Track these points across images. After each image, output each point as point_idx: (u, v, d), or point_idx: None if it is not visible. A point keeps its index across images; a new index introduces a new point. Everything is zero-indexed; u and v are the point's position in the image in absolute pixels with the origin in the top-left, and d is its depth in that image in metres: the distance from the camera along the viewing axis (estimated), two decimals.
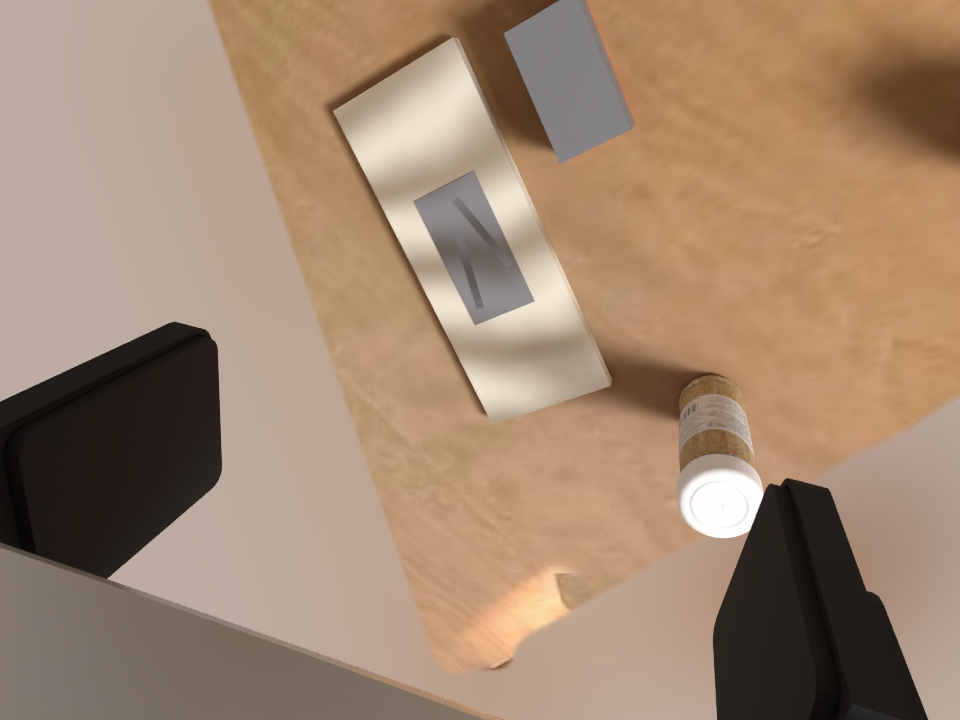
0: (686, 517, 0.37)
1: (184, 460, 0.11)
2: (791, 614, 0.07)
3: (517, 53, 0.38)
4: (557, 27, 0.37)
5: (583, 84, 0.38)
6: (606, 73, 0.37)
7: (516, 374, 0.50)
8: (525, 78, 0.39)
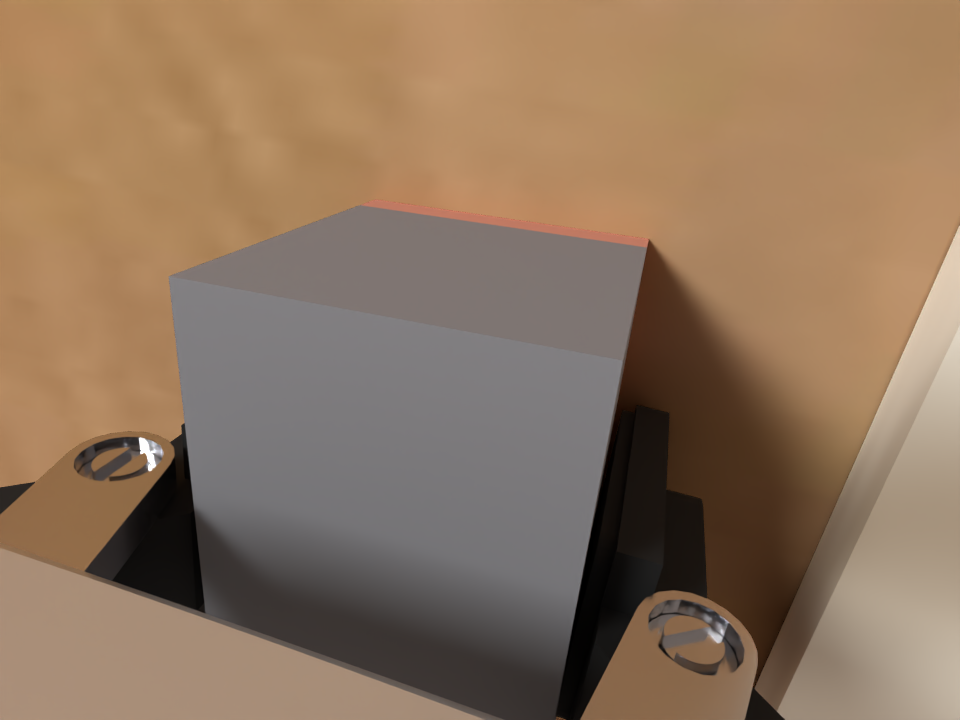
0: None
1: None
2: (605, 501, 0.09)
3: None
4: None
5: (308, 580, 0.08)
6: (203, 546, 0.08)
7: None
8: None
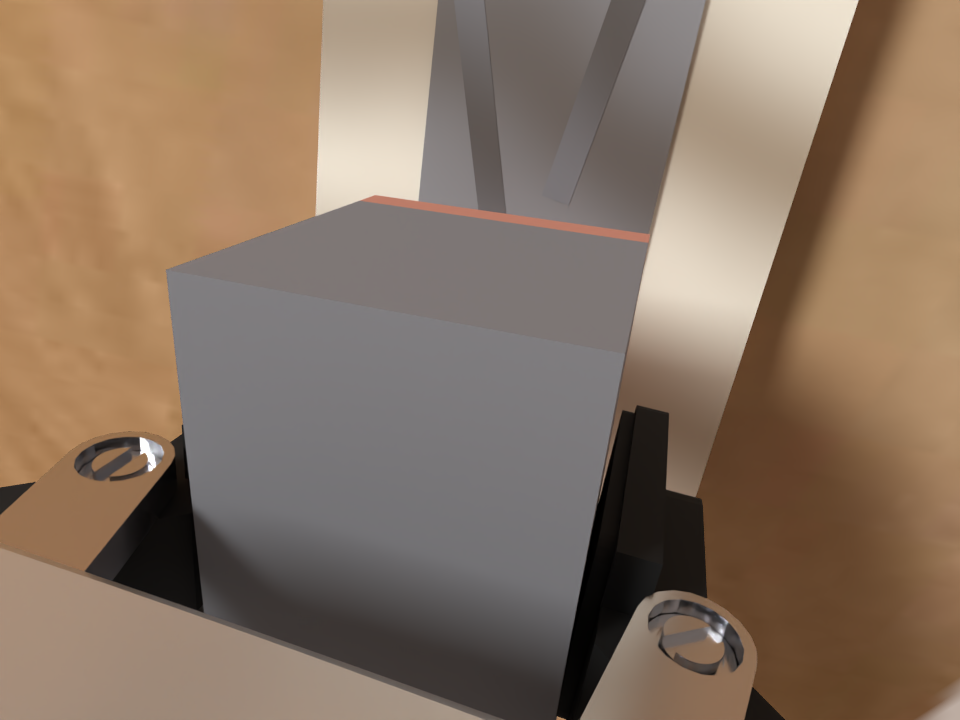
0: None
1: None
2: (605, 501, 0.09)
3: None
4: None
5: (306, 576, 0.08)
6: (201, 543, 0.08)
7: None
8: None
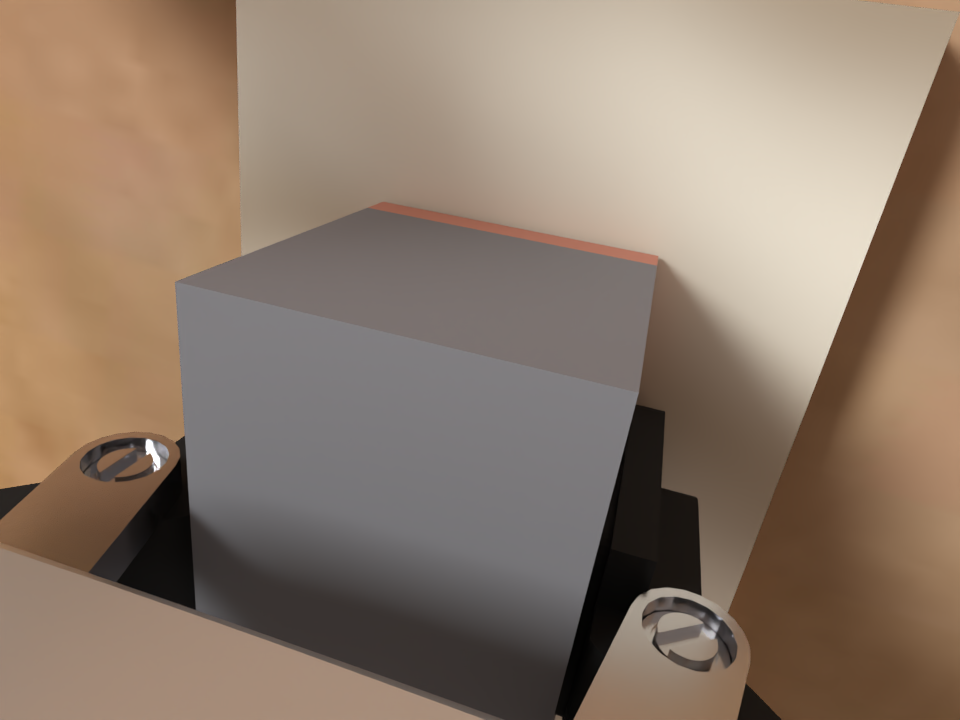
0: None
1: None
2: None
3: None
4: None
5: (303, 592, 0.08)
6: (198, 553, 0.08)
7: (601, 222, 0.10)
8: None
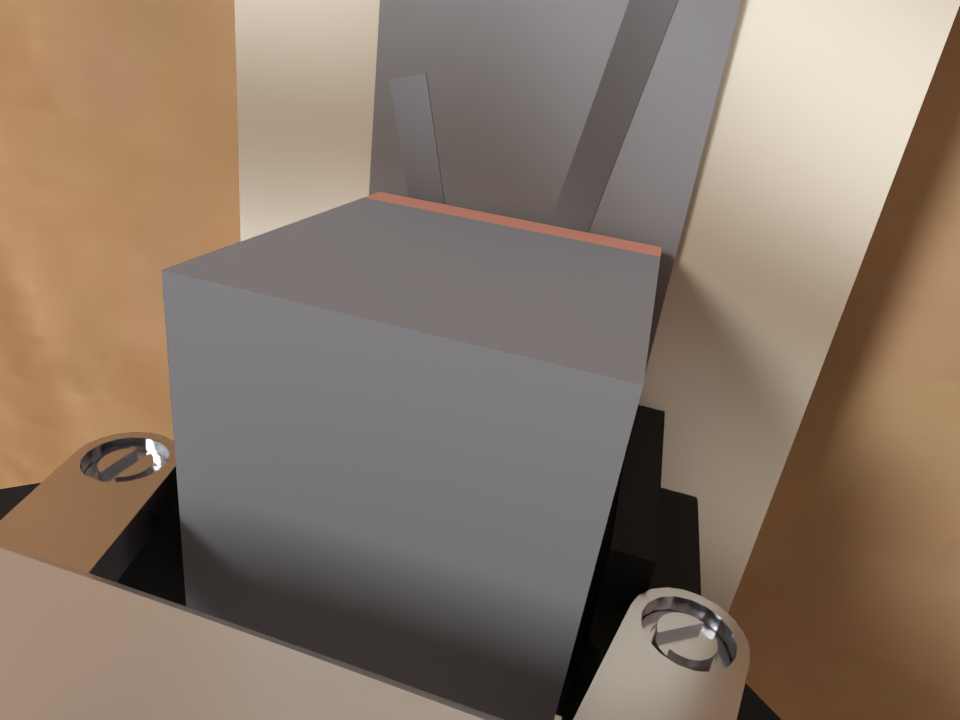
0: None
1: None
2: None
3: None
4: None
5: (296, 591, 0.07)
6: (188, 551, 0.08)
7: None
8: None
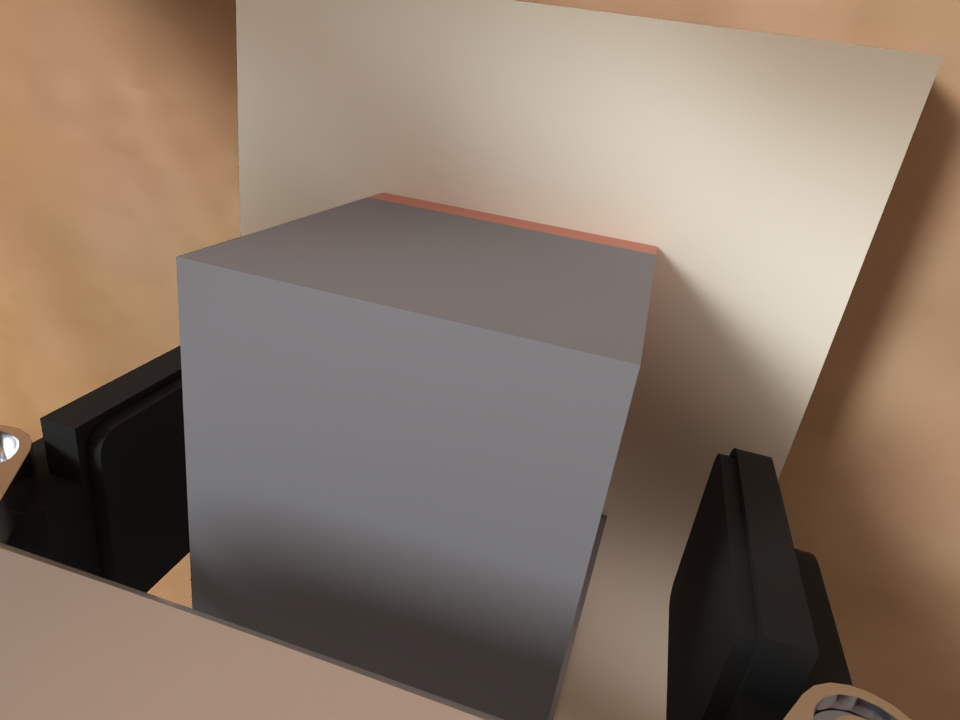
0: None
1: None
2: (724, 566, 0.08)
3: None
4: None
5: (300, 575, 0.07)
6: (194, 535, 0.08)
7: None
8: None
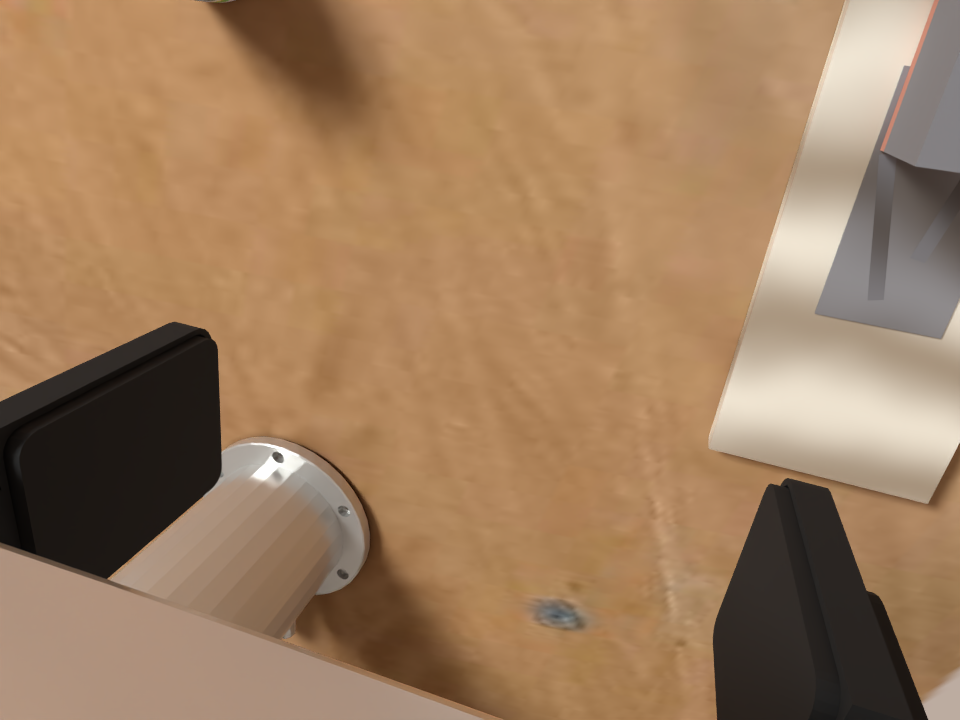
0: None
1: (184, 460, 0.11)
2: (791, 614, 0.07)
3: None
4: None
5: None
6: None
7: None
8: None
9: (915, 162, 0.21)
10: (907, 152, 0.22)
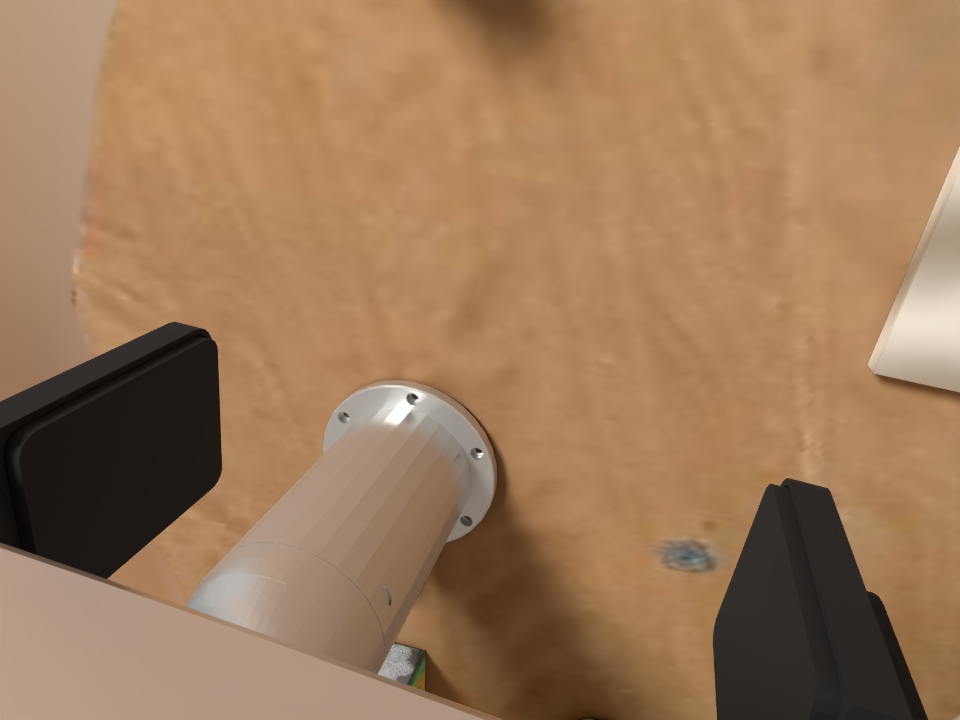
0: None
1: (184, 460, 0.11)
2: (791, 614, 0.07)
3: None
4: None
5: None
6: None
7: None
8: None
9: None
10: None
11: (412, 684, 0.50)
